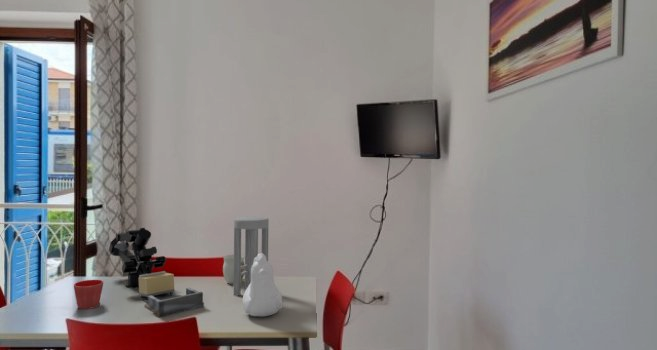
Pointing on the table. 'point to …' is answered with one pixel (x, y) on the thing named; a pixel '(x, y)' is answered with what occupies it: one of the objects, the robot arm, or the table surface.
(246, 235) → the stool
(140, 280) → the yellow box
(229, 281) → the pitcher
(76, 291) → the flower pot
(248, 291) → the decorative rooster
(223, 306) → the table surface
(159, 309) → the dock
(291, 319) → the table surface
